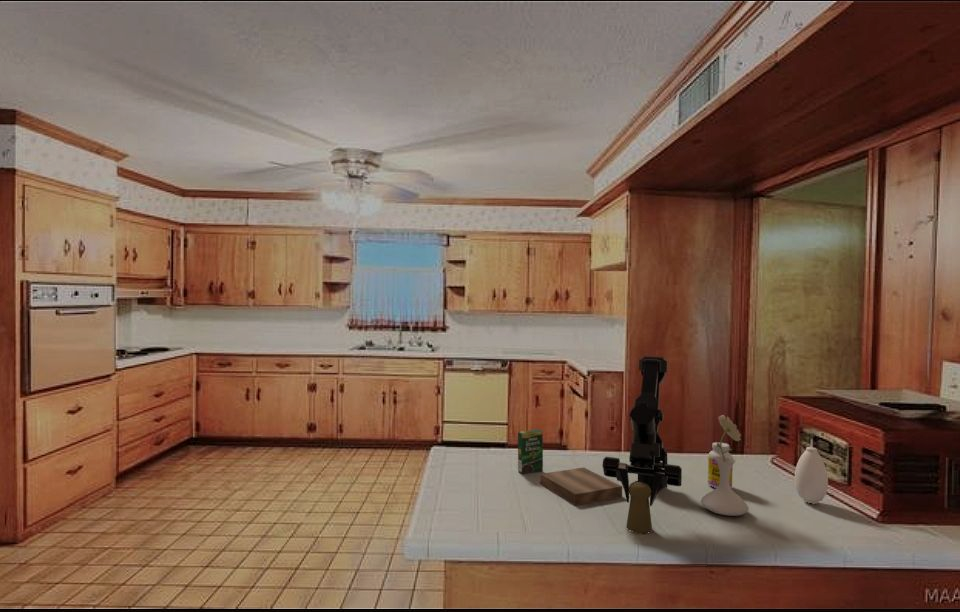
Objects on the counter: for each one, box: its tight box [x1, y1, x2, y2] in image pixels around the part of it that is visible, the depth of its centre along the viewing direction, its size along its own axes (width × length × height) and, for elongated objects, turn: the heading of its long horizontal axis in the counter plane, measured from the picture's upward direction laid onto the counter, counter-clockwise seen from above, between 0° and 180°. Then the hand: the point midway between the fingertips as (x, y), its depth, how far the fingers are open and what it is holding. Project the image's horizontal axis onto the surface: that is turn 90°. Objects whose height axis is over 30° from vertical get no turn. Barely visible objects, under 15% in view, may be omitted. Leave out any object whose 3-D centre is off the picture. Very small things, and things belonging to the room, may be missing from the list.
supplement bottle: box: [707, 441, 734, 489], centre depth 155 cm, size 7×7×13 cm
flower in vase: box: [700, 414, 749, 517], centre depth 137 cm, size 13×11×25 cm
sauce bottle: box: [794, 438, 829, 505], centre depth 143 cm, size 8×8×18 cm
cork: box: [625, 481, 653, 534], centre depth 125 cm, size 6×6×11 cm
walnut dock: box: [539, 467, 623, 506], centre depth 151 cm, size 16×18×3 cm
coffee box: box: [517, 429, 544, 474], centre depth 167 cm, size 8×3×13 cm, turn 113°
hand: (639, 503), depth 124 cm, fingers closed on cork, 5 cm apart
